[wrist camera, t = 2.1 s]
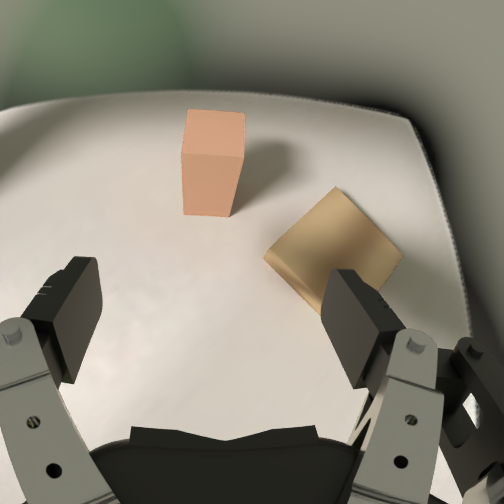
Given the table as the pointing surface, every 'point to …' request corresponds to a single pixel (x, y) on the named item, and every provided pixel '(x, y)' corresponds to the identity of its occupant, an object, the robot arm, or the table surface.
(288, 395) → the table surface
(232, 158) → the block
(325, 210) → the base slab
